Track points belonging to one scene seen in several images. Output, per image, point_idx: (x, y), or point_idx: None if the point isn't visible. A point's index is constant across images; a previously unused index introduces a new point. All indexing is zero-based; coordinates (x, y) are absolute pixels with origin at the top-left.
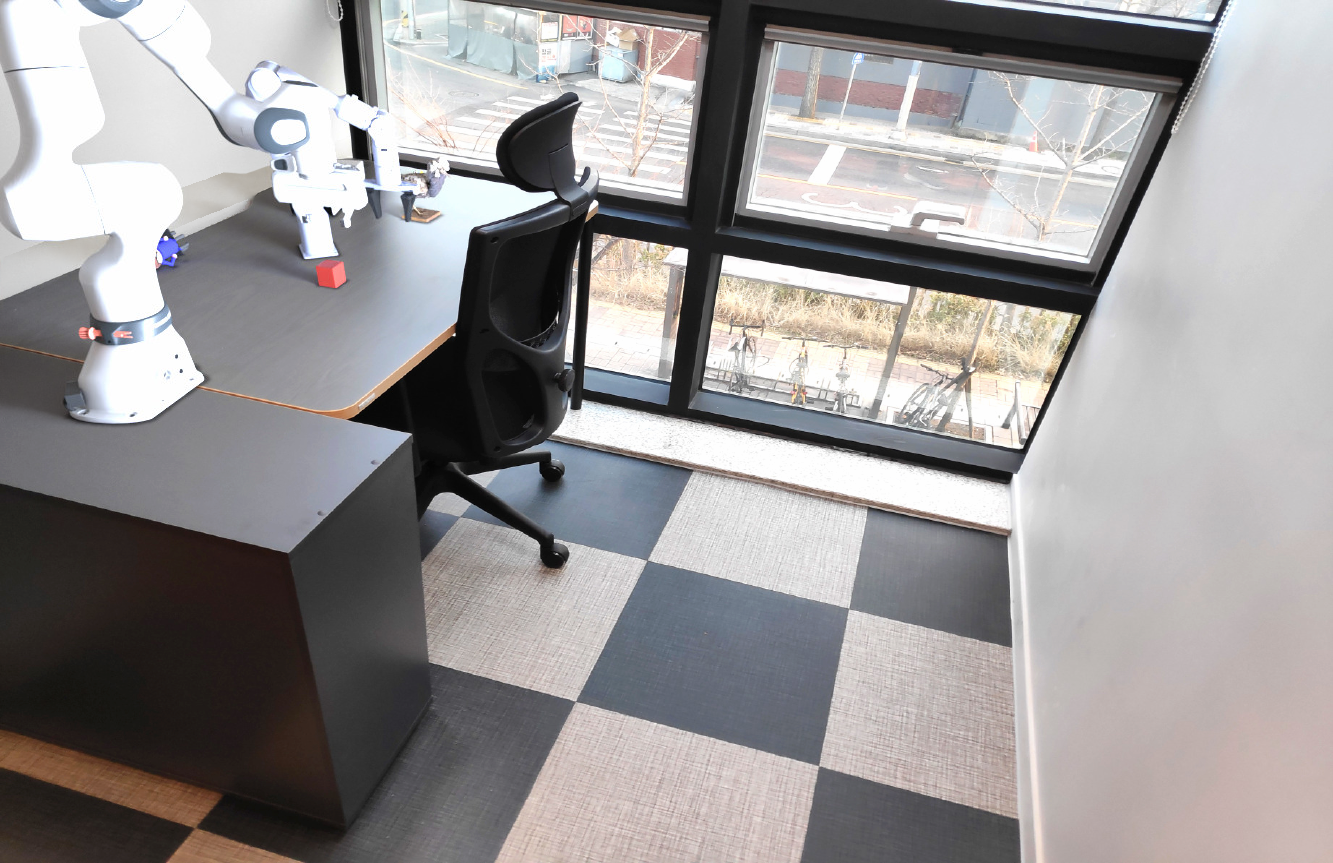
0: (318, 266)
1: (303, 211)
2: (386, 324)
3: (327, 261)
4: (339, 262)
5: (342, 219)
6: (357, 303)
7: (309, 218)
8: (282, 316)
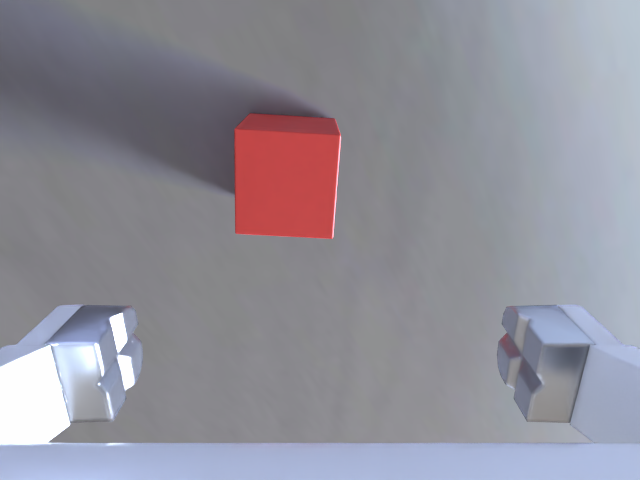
0: (250, 231)
1: (21, 382)
2: None
3: (258, 157)
4: (327, 150)
5: (556, 411)
6: (468, 303)
7: (118, 328)
8: (271, 439)
